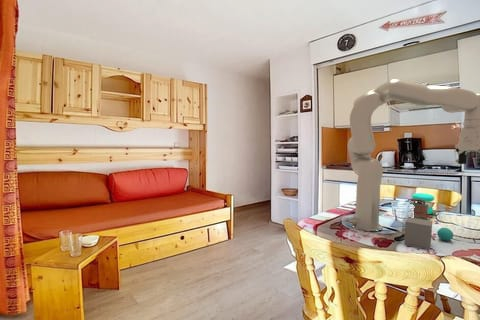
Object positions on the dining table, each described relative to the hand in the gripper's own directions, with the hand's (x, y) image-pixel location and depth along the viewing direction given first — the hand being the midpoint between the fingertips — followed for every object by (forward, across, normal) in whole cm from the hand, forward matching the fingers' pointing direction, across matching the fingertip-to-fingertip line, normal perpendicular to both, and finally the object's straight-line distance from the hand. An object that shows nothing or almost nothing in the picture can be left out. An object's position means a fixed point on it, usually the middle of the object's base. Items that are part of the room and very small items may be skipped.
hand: (472, 164), depth 112 cm
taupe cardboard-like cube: (+29, +12, -31) cm, 44 cm away
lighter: (+30, -21, -6) cm, 37 cm away
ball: (+27, +9, -17) cm, 33 cm away
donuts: (+30, -32, +4) cm, 44 cm away
